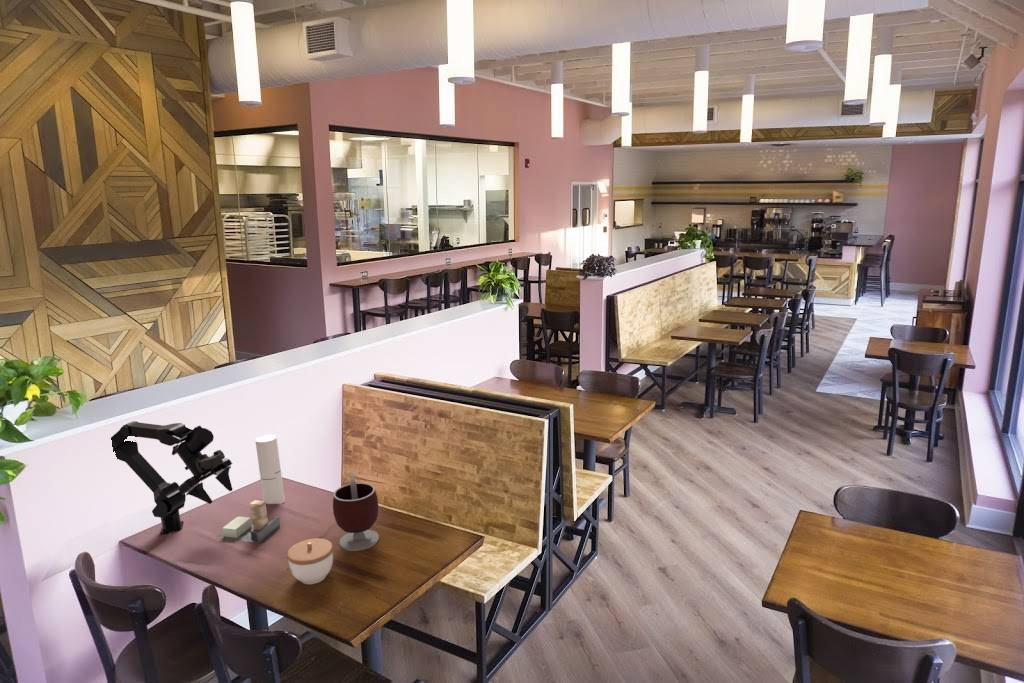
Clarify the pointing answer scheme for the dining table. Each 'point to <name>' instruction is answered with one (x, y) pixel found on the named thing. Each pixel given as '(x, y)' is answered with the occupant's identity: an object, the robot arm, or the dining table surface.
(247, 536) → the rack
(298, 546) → the lidded bowl
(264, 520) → the birch board
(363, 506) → the mate gourd
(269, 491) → the cylindrical container
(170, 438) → the robot arm
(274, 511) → the dining table surface
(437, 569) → the dining table surface
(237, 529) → the offcut upper
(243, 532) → the offcut lower
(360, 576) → the dining table surface
